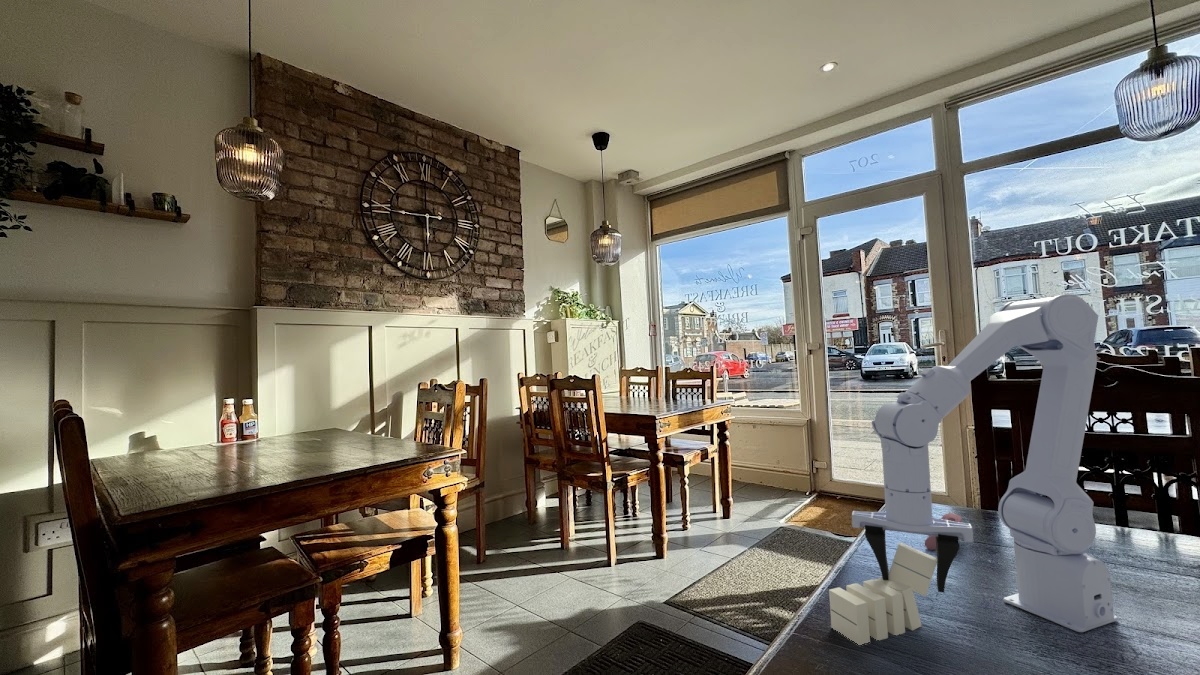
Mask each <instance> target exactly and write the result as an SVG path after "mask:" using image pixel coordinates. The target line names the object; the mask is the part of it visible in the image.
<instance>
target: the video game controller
mask: <svg viewBox="0 0 1200 675" xmlns="http://www.w3.org/2000/svg"><path fill="white" fill-rule="evenodd" d="M940 519H944V520H949V521H954V522H960V523H962V521H963V517H962V516H960V515H959V514H957V513H951V512H950V511H949V512H948V513H945V514H943V516H942V517H941V518H940ZM961 540H962V539H958V541H961ZM924 546H925V548H926V549H927V550H930V551H936V538H935V536H929V535H928V536H927V538H926V539H925V540H924Z"/></svg>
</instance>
